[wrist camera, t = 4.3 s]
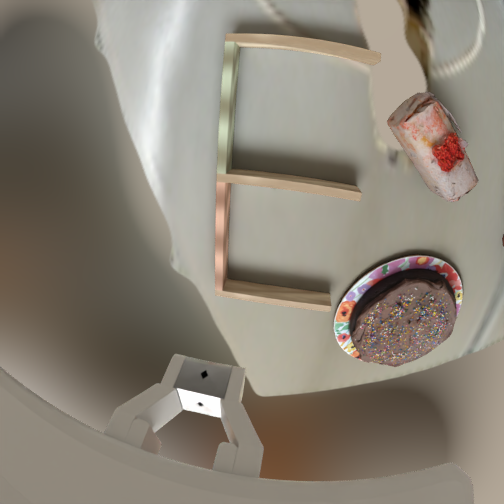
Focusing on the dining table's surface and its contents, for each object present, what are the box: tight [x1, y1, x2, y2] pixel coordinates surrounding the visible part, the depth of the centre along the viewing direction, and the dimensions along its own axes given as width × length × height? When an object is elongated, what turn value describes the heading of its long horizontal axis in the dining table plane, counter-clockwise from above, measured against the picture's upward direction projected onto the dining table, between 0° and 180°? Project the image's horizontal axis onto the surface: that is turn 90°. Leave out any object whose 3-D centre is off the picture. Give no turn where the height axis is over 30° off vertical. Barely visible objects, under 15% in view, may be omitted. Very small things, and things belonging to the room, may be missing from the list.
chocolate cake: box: [333, 254, 463, 367], centre depth 43 cm, size 28×28×7 cm
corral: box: [215, 34, 381, 312], centre depth 36 cm, size 40×19×4 cm, turn 176°
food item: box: [387, 92, 478, 202], centre depth 26 cm, size 14×8×10 cm, turn 46°
